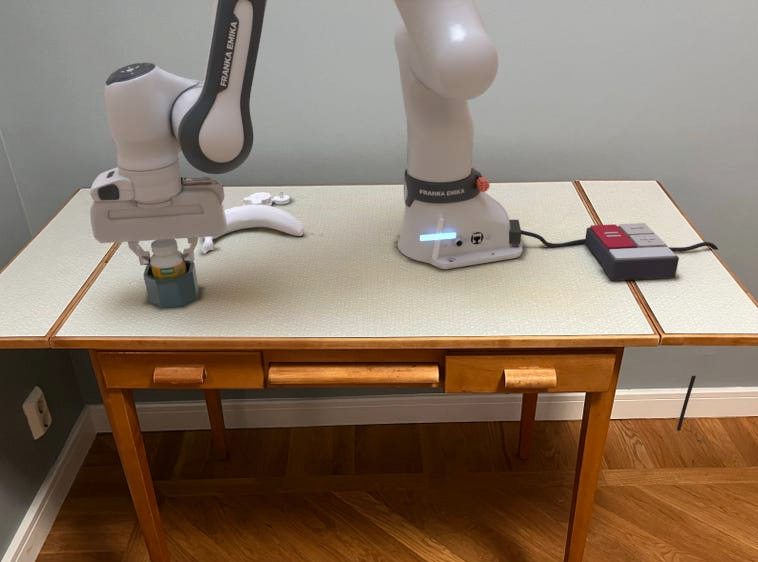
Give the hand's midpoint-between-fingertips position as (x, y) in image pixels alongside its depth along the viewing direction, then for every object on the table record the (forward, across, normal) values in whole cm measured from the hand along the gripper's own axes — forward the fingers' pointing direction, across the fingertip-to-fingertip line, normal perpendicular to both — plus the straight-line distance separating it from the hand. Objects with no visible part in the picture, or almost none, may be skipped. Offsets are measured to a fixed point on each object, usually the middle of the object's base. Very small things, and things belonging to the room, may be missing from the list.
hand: (167, 262), depth 120 cm
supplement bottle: (+6, 0, 0) cm, 6 cm away
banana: (+6, -12, -20) cm, 24 cm away
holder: (+6, 0, 0) cm, 6 cm away
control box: (+6, -78, -2) cm, 78 cm away
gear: (+6, -14, -35) cm, 38 cm away
